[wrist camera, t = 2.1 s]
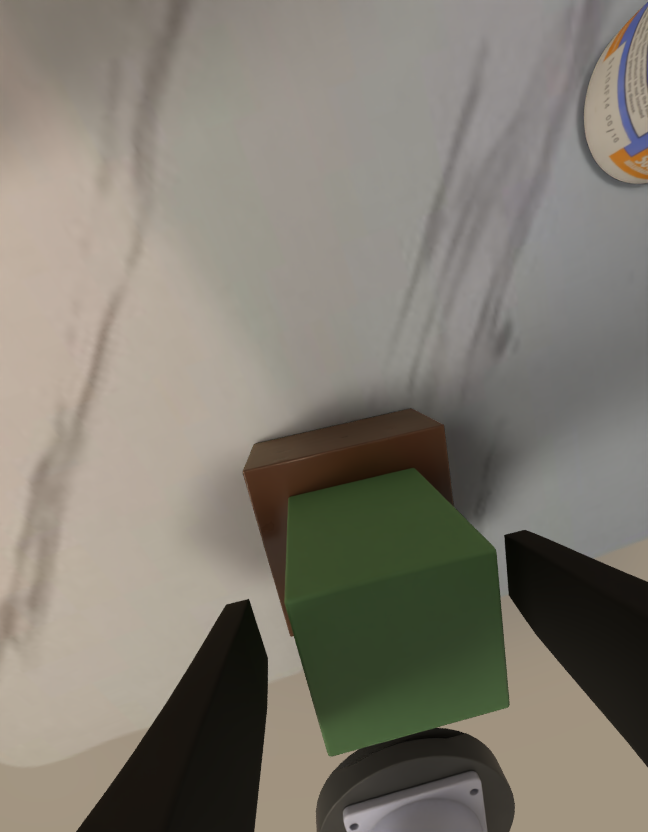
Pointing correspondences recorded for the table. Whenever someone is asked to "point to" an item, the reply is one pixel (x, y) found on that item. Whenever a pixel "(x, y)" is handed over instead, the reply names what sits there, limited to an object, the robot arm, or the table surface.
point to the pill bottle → (621, 104)
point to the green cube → (392, 610)
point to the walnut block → (338, 469)
